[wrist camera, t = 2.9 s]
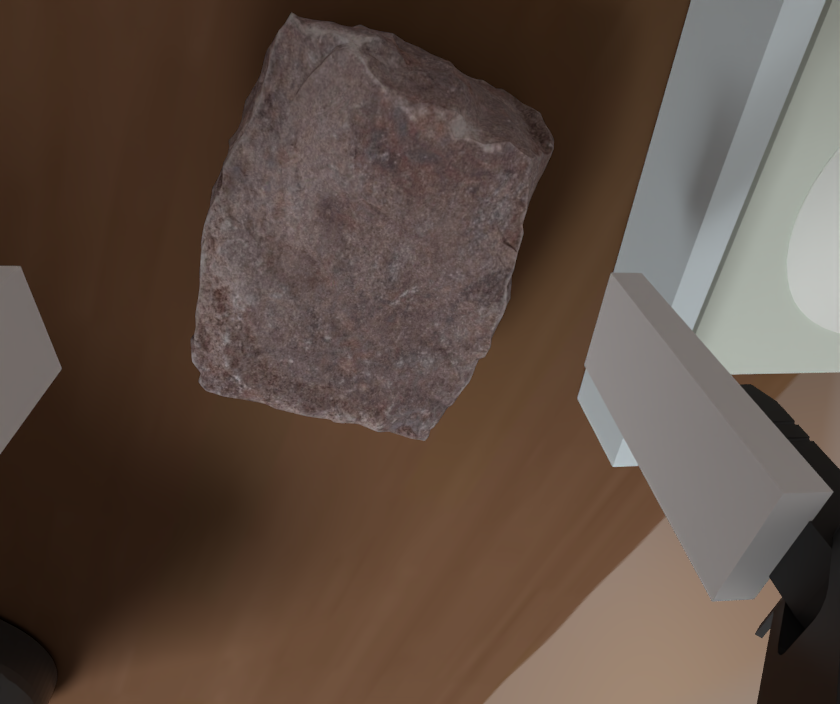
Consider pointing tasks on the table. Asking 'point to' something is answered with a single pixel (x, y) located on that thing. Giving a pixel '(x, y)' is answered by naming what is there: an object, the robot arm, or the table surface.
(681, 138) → the acrylic wall
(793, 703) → the robot arm
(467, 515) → the table surface
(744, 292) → the rest mat
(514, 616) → the table surface
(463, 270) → the stone
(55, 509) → the table surface
